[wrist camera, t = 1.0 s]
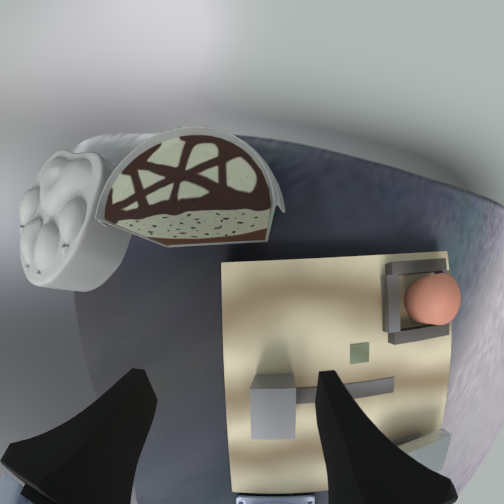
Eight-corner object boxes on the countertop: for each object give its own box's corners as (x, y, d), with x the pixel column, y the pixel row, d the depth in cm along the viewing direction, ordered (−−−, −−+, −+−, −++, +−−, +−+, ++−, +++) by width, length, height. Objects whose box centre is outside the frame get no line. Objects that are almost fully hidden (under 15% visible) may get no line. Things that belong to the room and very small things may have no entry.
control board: (424, 458, 18) (437, 472, 15) (235, 481, 20) (229, 500, 17) (436, 254, 22) (455, 247, 19) (226, 265, 24) (216, 259, 21)
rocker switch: (432, 462, 15) (442, 468, 13) (379, 484, 15) (387, 493, 13) (441, 428, 16) (451, 433, 14) (386, 450, 15) (395, 458, 14)
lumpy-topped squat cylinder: (150, 185, 27) (105, 144, 18) (111, 306, 25) (51, 304, 16) (85, 173, 28) (40, 142, 20) (51, 275, 26) (-3, 265, 18)
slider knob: (293, 418, 19) (295, 439, 15) (256, 418, 19) (251, 439, 16) (293, 373, 20) (295, 388, 16) (255, 374, 20) (249, 389, 16)
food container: (280, 176, 25) (277, 109, 15) (284, 241, 24) (285, 200, 14) (157, 188, 26) (103, 138, 17) (153, 248, 25) (88, 219, 15)
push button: (441, 319, 18) (461, 320, 15) (404, 325, 18) (422, 328, 15) (439, 275, 18) (459, 271, 16) (403, 279, 19) (420, 275, 16)
